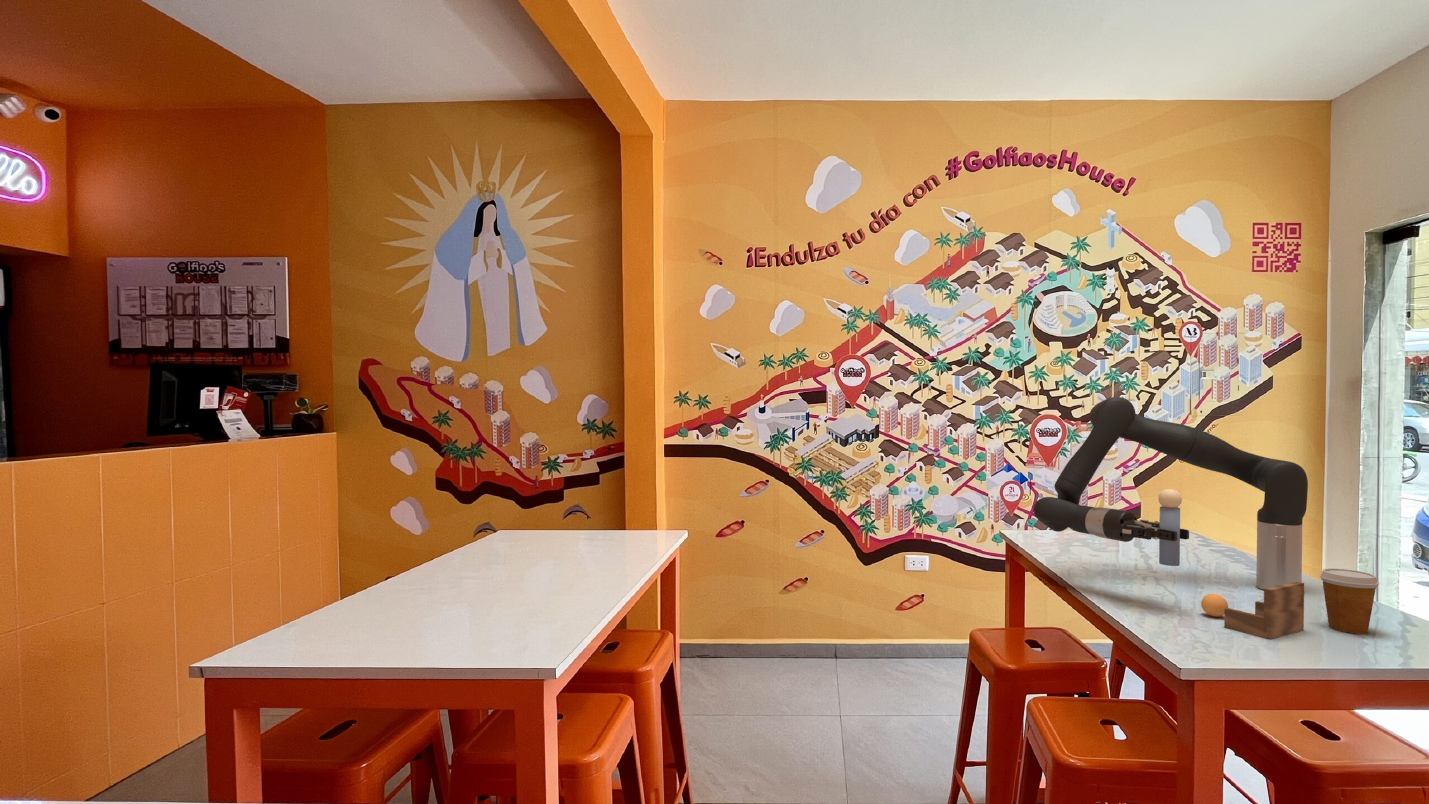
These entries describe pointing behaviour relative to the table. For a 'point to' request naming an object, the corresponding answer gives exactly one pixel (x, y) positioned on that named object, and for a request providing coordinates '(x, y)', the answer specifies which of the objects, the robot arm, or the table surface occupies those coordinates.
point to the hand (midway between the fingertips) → (1182, 535)
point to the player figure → (1170, 526)
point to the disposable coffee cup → (1349, 599)
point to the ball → (1214, 605)
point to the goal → (1271, 613)
